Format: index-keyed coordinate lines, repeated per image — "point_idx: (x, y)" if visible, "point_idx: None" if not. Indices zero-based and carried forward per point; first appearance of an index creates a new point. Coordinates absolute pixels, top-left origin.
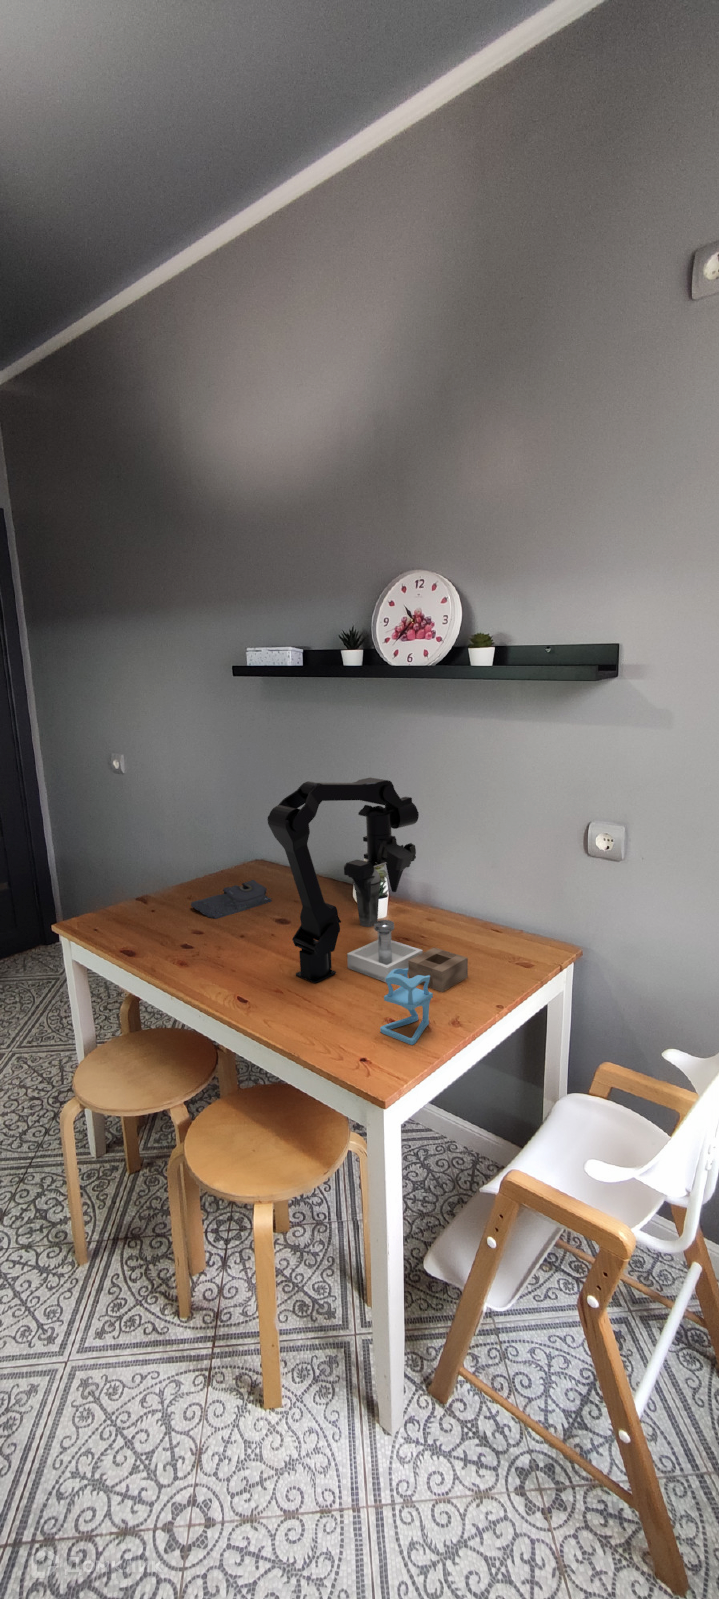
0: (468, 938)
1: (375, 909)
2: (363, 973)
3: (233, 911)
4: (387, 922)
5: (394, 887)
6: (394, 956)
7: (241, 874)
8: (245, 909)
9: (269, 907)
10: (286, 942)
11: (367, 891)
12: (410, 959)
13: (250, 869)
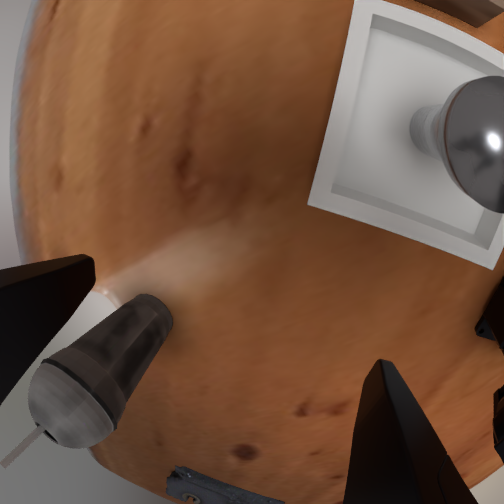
0: (107, 15)
1: (124, 319)
2: None
3: (251, 495)
4: (486, 127)
5: (69, 278)
6: (373, 117)
7: (142, 483)
8: (232, 486)
9: (204, 468)
10: (344, 430)
11: (444, 449)
12: (495, 3)
13: (125, 476)
